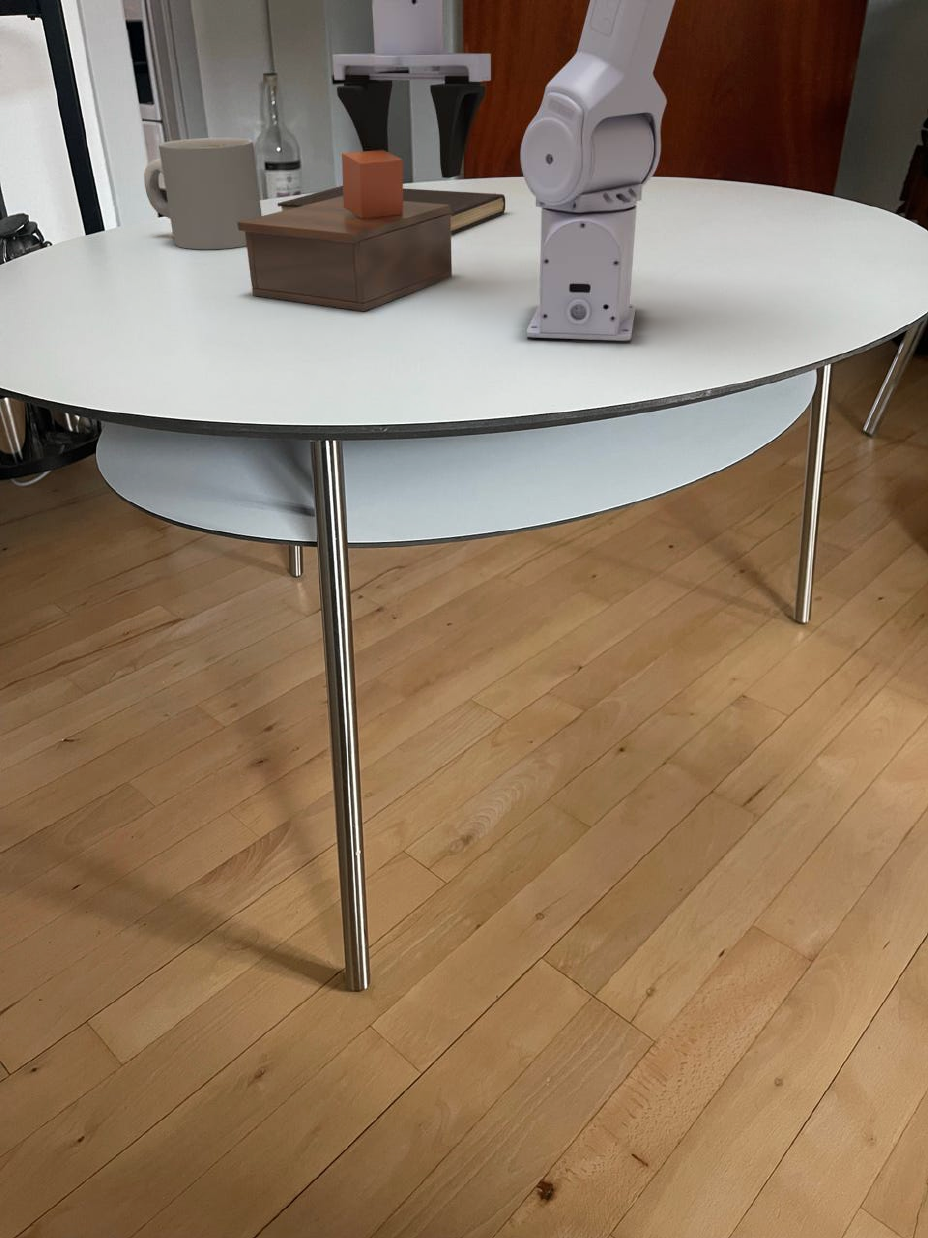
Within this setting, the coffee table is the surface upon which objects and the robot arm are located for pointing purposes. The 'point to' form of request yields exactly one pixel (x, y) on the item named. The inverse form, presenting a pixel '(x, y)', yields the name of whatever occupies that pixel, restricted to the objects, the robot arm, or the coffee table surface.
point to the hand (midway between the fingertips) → (414, 174)
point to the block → (372, 183)
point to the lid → (339, 221)
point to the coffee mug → (205, 190)
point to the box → (351, 265)
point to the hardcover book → (463, 205)
